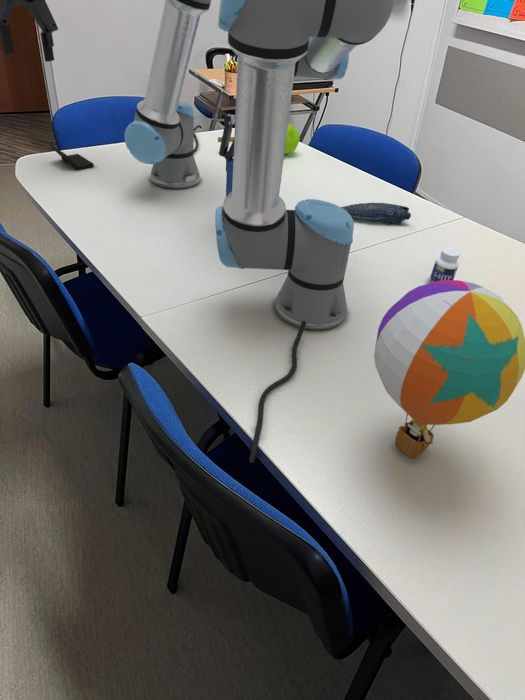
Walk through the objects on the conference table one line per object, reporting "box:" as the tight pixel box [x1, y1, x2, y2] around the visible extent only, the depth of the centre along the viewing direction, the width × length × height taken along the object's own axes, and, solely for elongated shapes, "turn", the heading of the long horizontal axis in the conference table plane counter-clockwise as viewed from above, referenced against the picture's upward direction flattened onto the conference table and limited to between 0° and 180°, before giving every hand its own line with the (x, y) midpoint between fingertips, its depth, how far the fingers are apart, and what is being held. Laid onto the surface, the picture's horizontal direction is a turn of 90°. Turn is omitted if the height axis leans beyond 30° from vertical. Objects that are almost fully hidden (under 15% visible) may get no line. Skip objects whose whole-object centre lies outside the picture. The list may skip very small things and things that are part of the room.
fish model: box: [340, 202, 412, 225], centre depth 150 cm, size 7×21×5 cm, turn 84°
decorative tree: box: [217, 123, 301, 155], centre depth 187 cm, size 18×10×30 cm
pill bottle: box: [428, 247, 461, 284], centre depth 123 cm, size 5×5×9 cm
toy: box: [373, 279, 525, 460], centre depth 74 cm, size 20×20×30 cm
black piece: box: [49, 143, 95, 171], centre depth 167 cm, size 12×7×10 cm
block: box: [225, 159, 233, 197], centre depth 133 cm, size 8×9×10 cm
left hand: (29, 57), depth 142 cm, fingers open, 13 cm apart
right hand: (247, 188), depth 134 cm, fingers closed on block, 8 cm apart
